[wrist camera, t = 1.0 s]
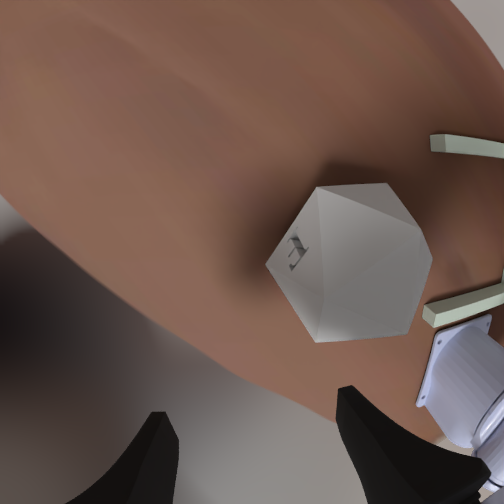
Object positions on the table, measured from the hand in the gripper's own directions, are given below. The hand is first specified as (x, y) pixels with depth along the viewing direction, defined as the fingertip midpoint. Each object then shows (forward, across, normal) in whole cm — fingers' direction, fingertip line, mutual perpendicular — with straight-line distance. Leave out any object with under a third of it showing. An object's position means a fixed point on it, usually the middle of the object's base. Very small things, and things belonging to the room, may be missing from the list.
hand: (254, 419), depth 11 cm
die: (+10, -6, -4) cm, 12 cm away
